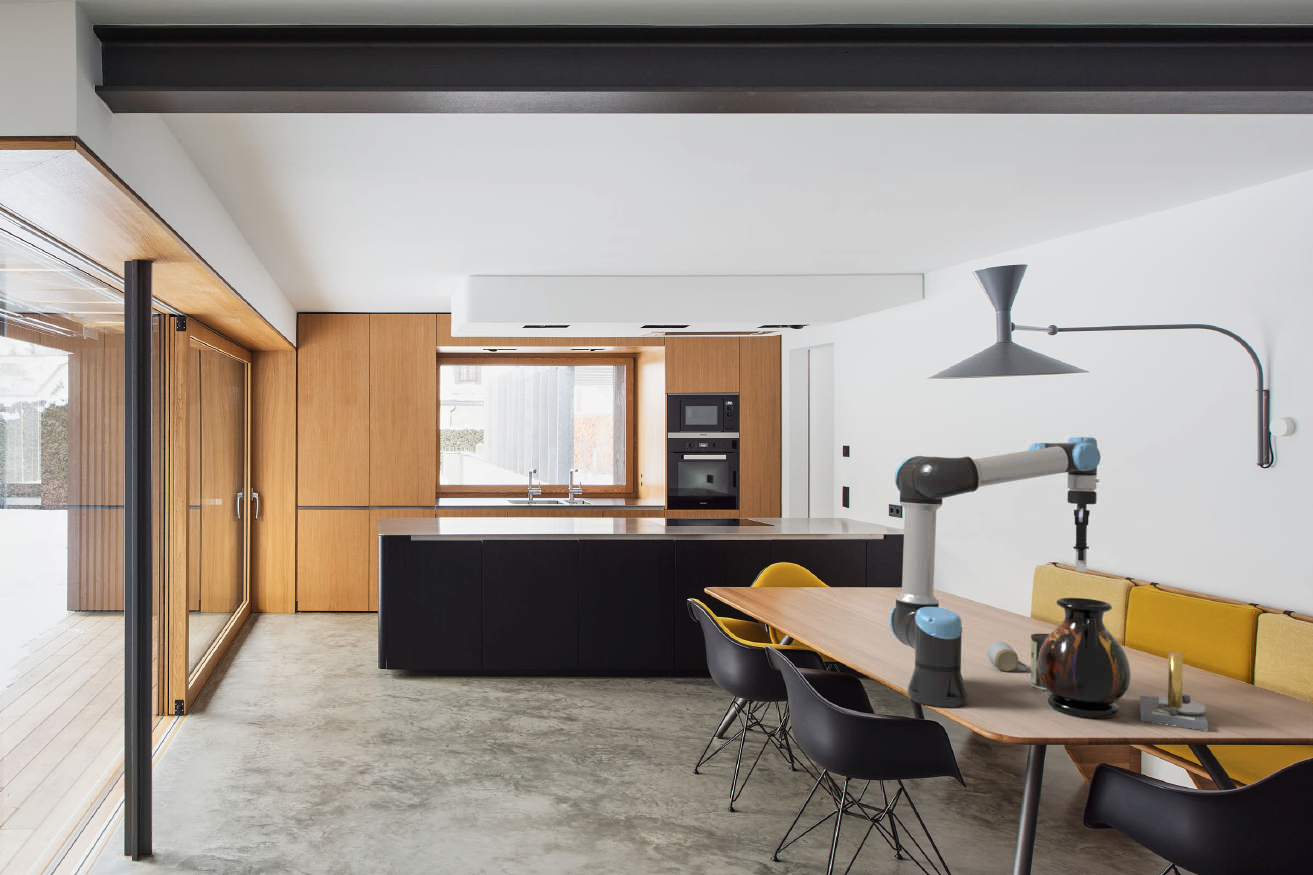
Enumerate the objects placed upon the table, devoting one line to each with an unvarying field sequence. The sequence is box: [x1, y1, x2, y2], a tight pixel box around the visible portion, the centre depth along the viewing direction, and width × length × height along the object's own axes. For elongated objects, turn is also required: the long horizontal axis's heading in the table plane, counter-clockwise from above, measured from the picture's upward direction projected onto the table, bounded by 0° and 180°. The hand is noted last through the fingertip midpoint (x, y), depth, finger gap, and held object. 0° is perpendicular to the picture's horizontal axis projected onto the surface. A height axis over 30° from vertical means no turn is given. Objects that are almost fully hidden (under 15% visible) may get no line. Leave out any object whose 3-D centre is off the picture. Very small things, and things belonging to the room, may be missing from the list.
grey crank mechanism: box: [1139, 694, 1209, 732], centre depth 211 cm, size 18×14×4 cm
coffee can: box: [1030, 633, 1051, 692], centre depth 235 cm, size 10×10×14 cm
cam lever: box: [1158, 651, 1206, 715], centre depth 209 cm, size 10×11×15 cm
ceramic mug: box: [987, 641, 1028, 673], centre depth 254 cm, size 11×8×8 cm
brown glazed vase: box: [1038, 597, 1132, 719], centre depth 215 cm, size 22×22×28 cm
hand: (1080, 571), depth 240 cm, fingers closed
